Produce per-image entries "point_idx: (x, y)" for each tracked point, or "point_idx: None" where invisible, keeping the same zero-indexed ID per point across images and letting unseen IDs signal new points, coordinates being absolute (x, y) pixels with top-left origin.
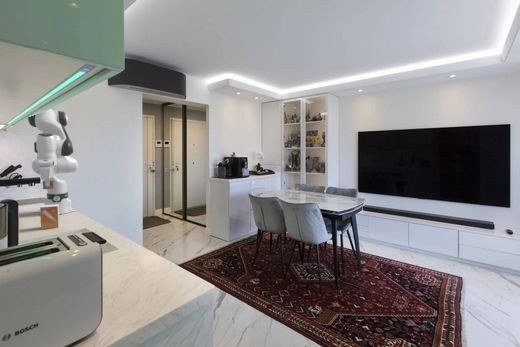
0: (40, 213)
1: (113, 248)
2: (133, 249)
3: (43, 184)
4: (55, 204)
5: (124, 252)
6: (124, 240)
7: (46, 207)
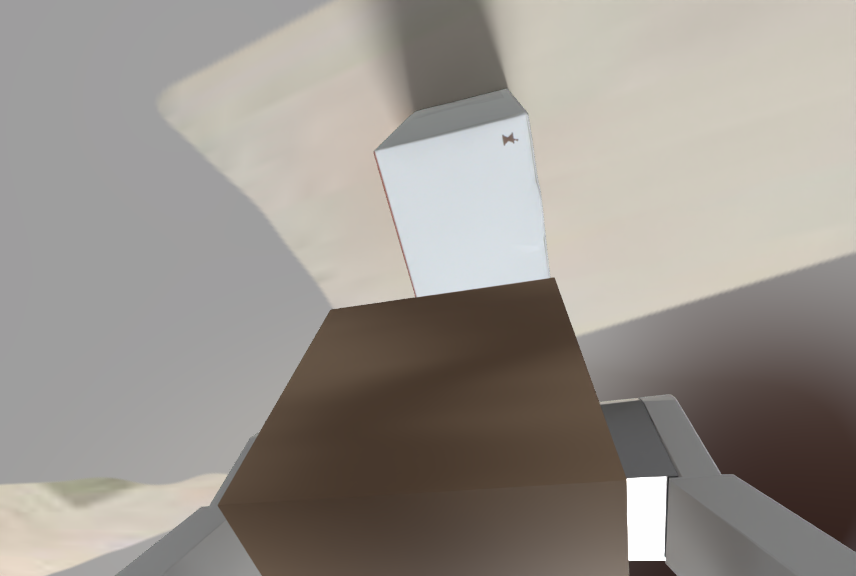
0: (392, 133)
1: (81, 496)
2: (80, 540)
3: (287, 414)
4: (534, 268)
5: (50, 520)
6: (170, 522)
7: (391, 213)
